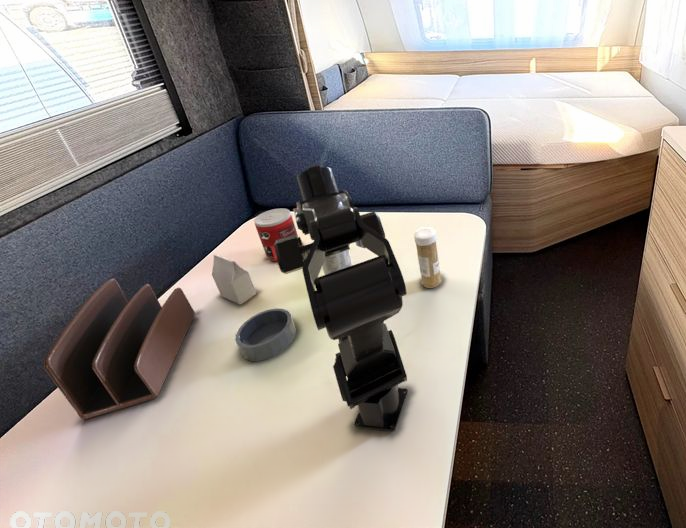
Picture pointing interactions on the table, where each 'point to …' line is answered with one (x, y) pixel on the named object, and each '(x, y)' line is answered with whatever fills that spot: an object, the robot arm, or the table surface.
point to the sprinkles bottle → (428, 256)
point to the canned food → (274, 229)
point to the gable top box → (232, 280)
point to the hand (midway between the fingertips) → (333, 249)
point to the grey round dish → (265, 334)
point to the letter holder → (118, 349)
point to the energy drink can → (337, 262)
